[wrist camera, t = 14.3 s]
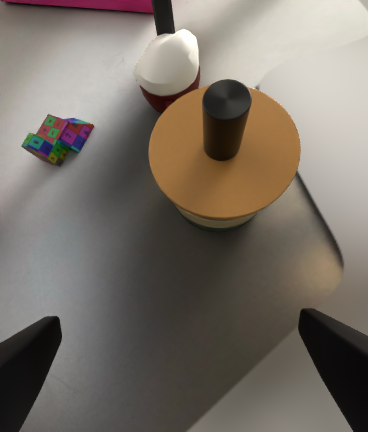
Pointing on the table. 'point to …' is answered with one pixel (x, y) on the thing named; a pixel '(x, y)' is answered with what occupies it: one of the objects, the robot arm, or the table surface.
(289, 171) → the brass lid
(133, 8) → the file sorter
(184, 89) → the cocoa
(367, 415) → the robot arm
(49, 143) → the block
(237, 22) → the table surface
